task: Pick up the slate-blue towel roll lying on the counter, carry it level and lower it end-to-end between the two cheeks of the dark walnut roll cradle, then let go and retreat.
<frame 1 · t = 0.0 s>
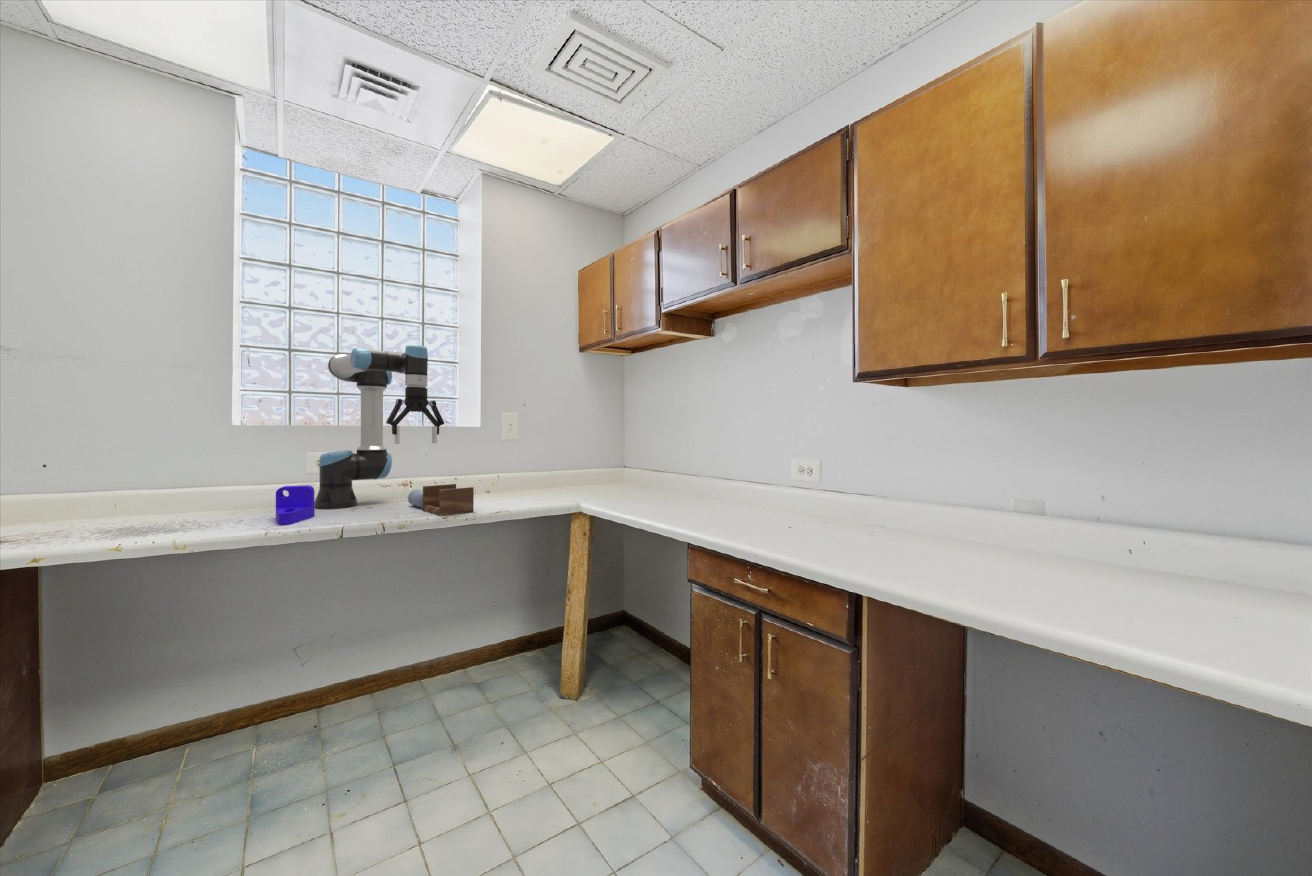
hand: (416, 443, 185), 28 cm above the counter, fingers open, 13 cm apart
cradle: (448, 511, 200), on the counter
bracket: (290, 521, 177), on the counter
towel roll: (421, 507, 210), on the counter
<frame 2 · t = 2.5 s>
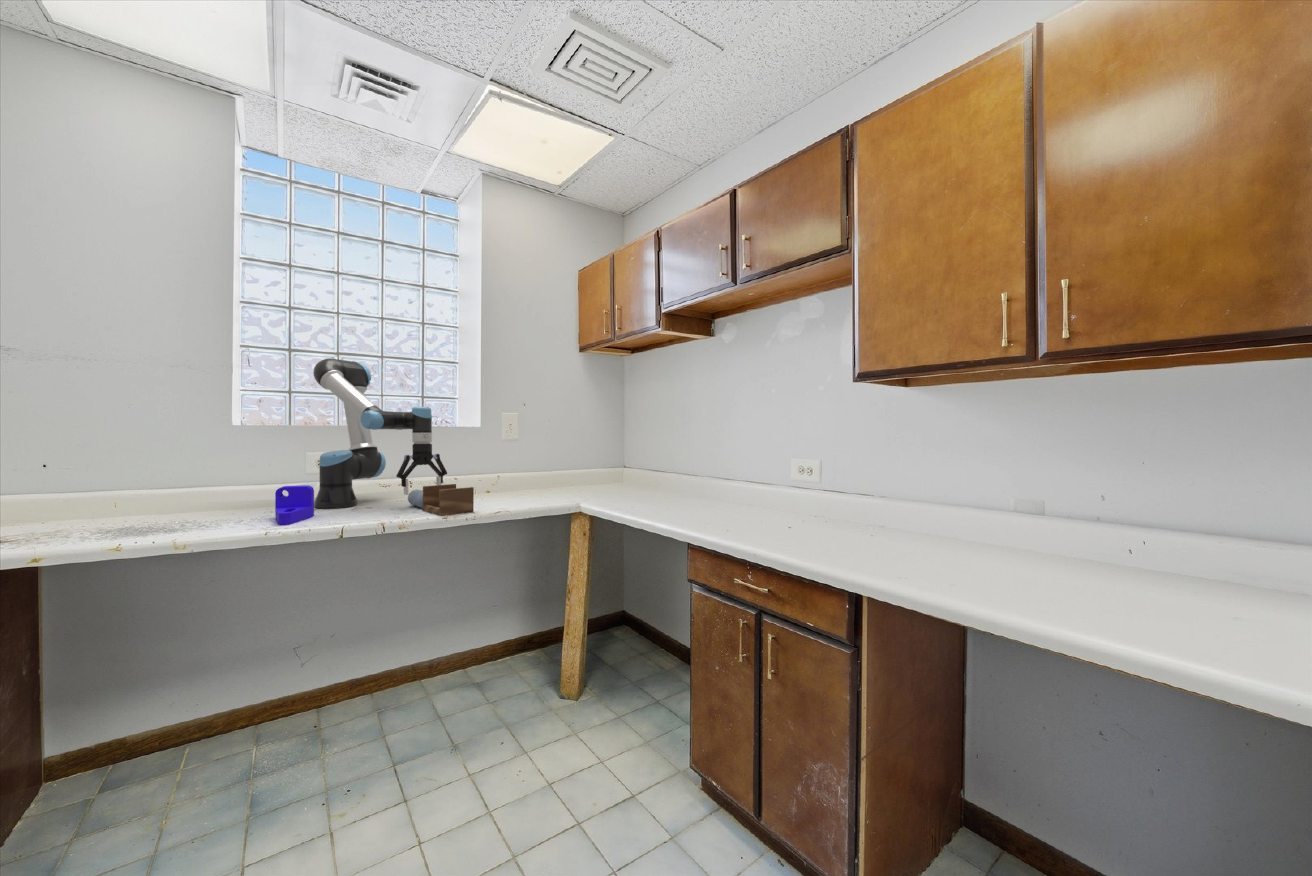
hand: (422, 493, 210), 6 cm above the counter, fingers open, 13 cm apart
nothing on the counter moved.
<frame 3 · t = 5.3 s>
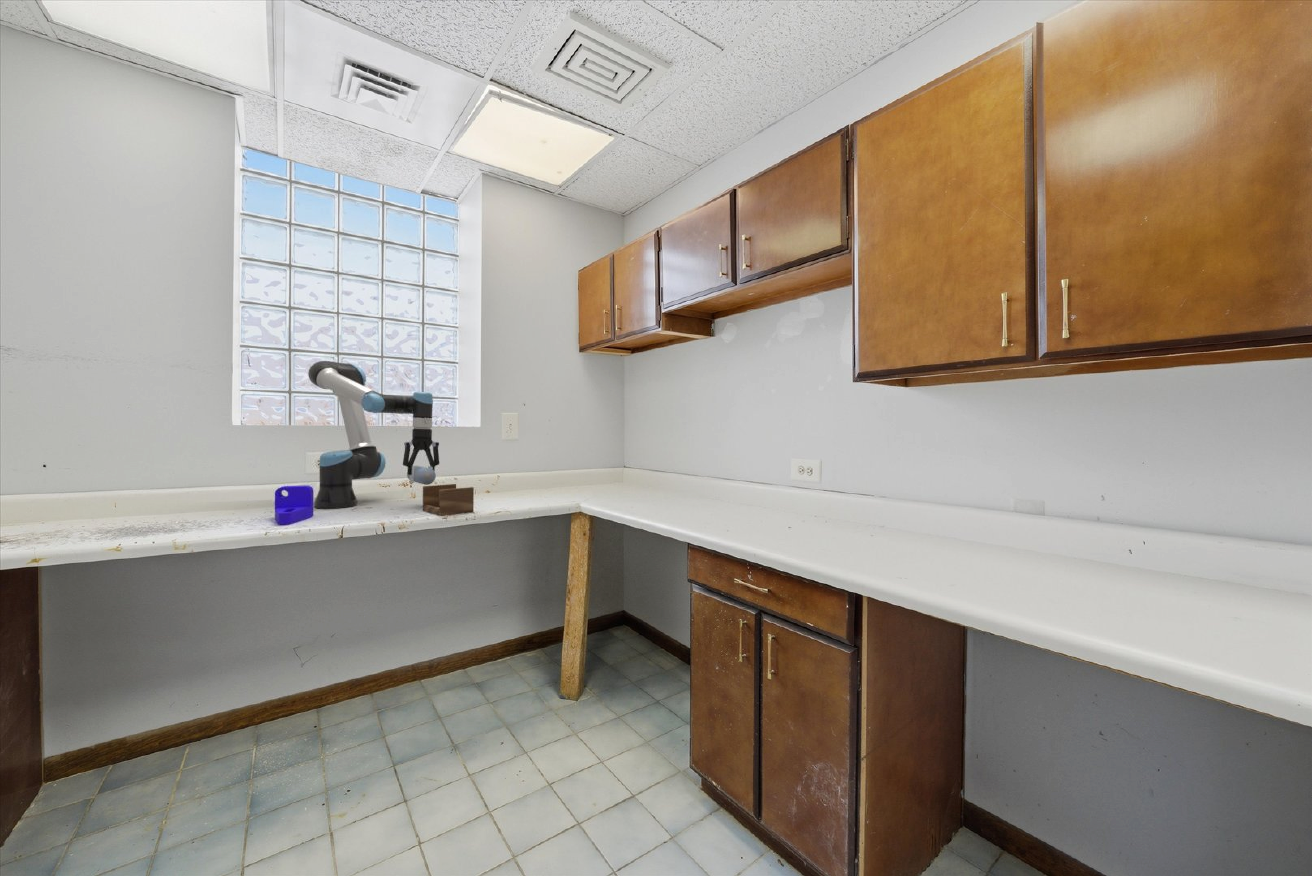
hand: (421, 482, 210), 11 cm above the counter, fingers closed on towel roll, 7 cm apart
towel roll: (420, 483, 210), point 10 cm above the counter, touching gripper
everything else where it was.
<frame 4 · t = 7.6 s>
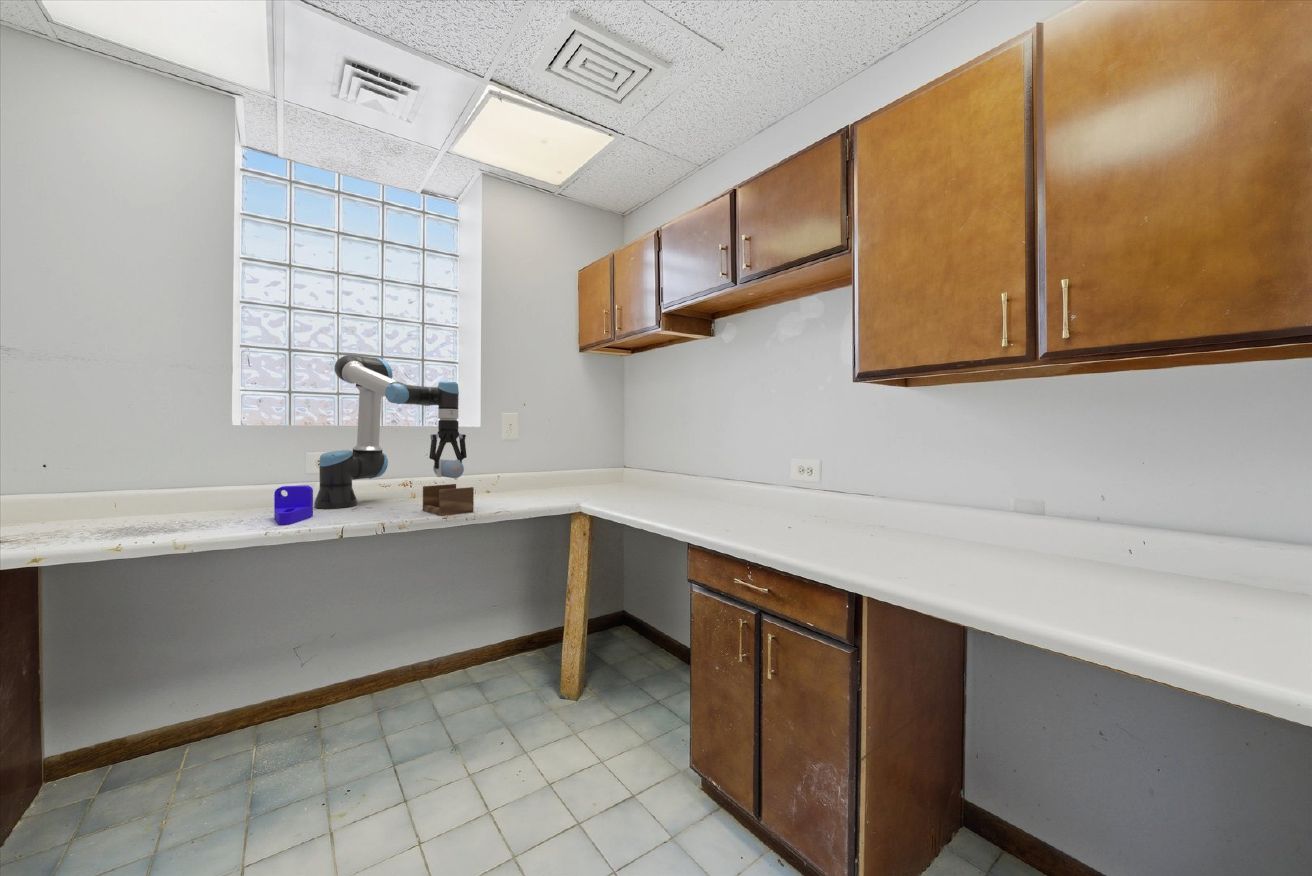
hand: (448, 476, 200), 14 cm above the counter, fingers closed on towel roll, 7 cm apart
towel roll: (448, 477, 200), point 14 cm above the counter, touching gripper
everything else where it was.
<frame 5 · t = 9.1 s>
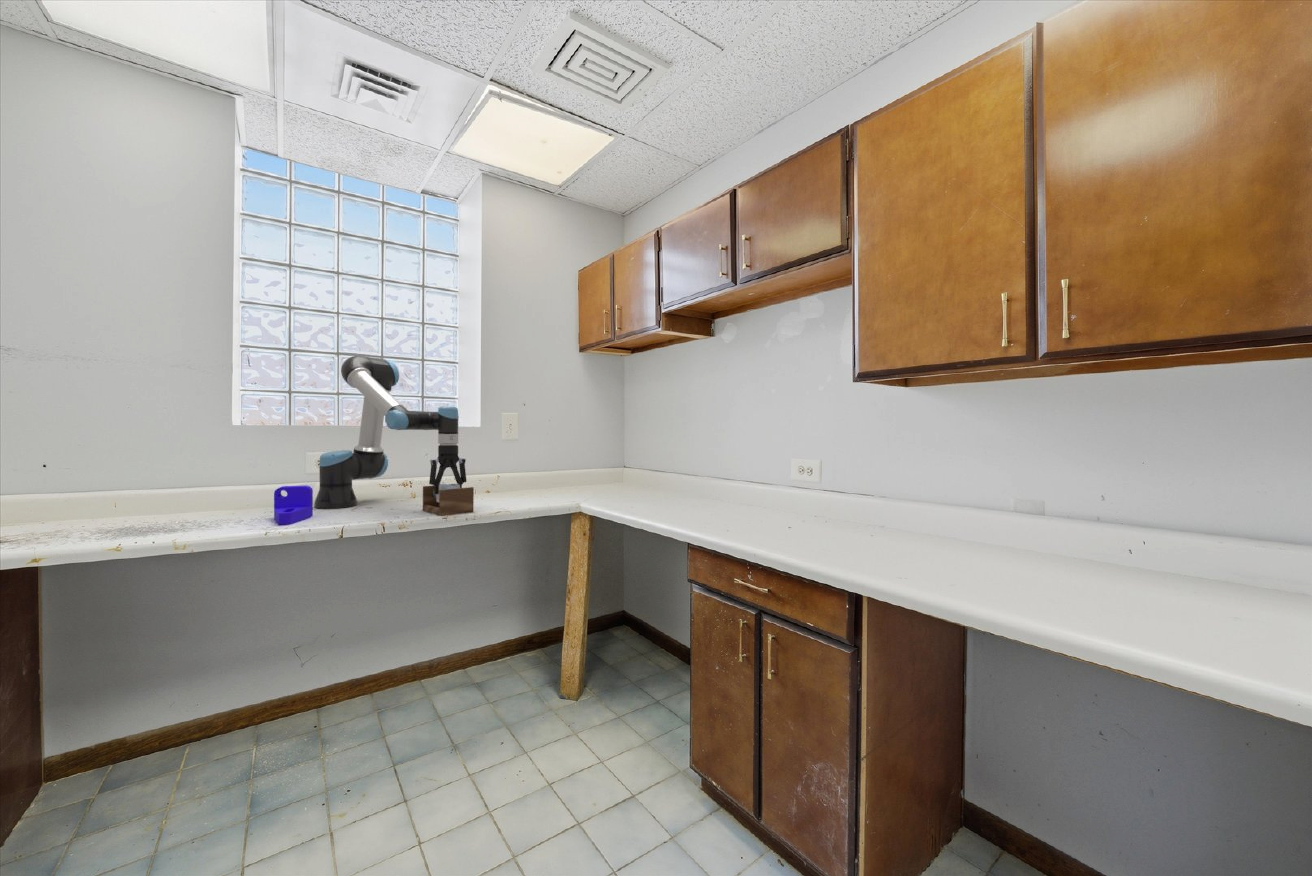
hand: (448, 501, 200), 4 cm above the counter, fingers closed on towel roll, 7 cm apart
towel roll: (448, 502, 200), point 4 cm above the counter, touching gripper
everything else where it was.
when the fingers open (3 cm above the counter, at t = 10.3 s): towel roll drops 1 cm, resting on cradle.
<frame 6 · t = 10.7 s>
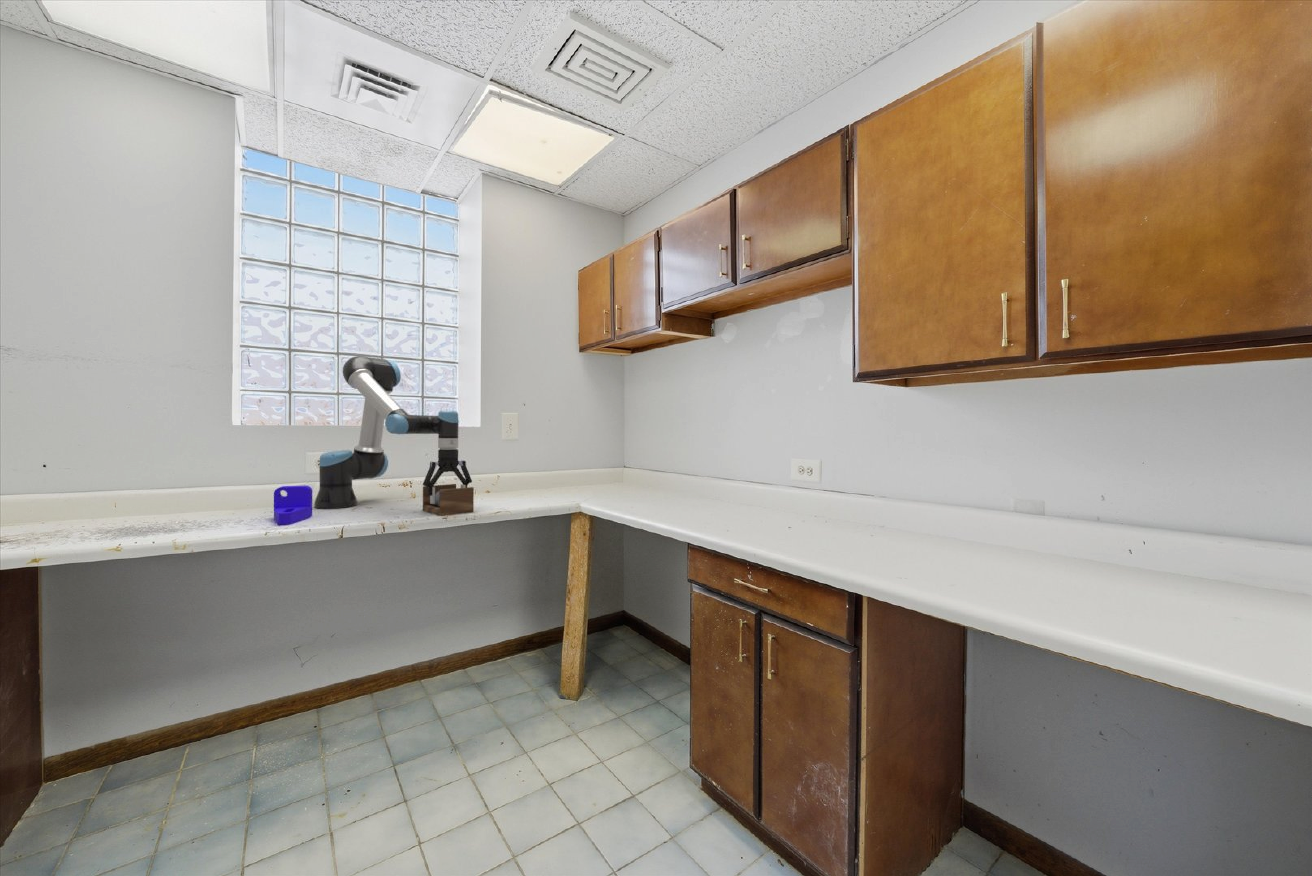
hand: (448, 502, 200), 4 cm above the counter, fingers open, 12 cm apart
towel roll: (447, 509, 200), point 1 cm above the counter, touching cradle
everything else where it was.
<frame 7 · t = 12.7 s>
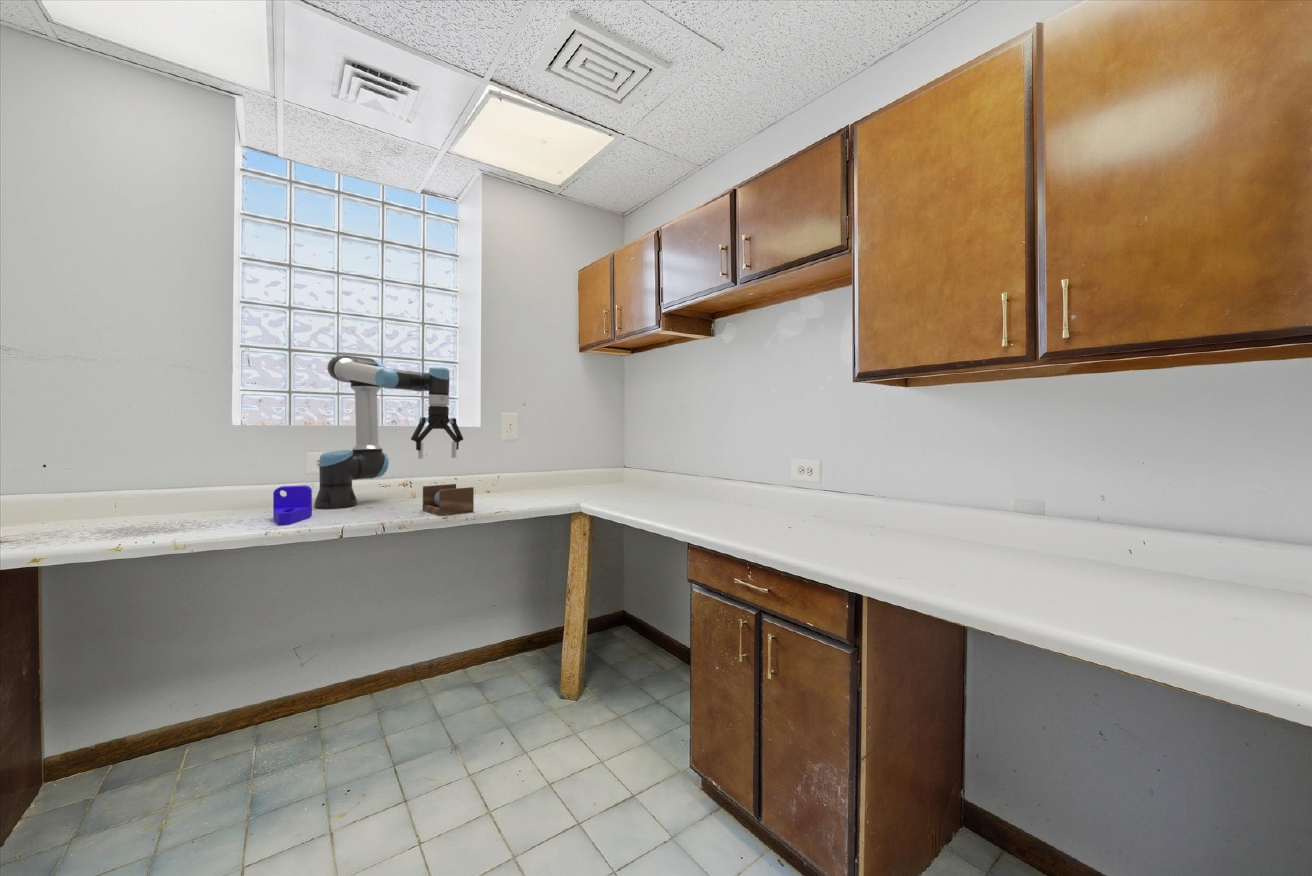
hand: (437, 458, 200), 22 cm above the counter, fingers open, 13 cm apart
nothing on the counter moved.
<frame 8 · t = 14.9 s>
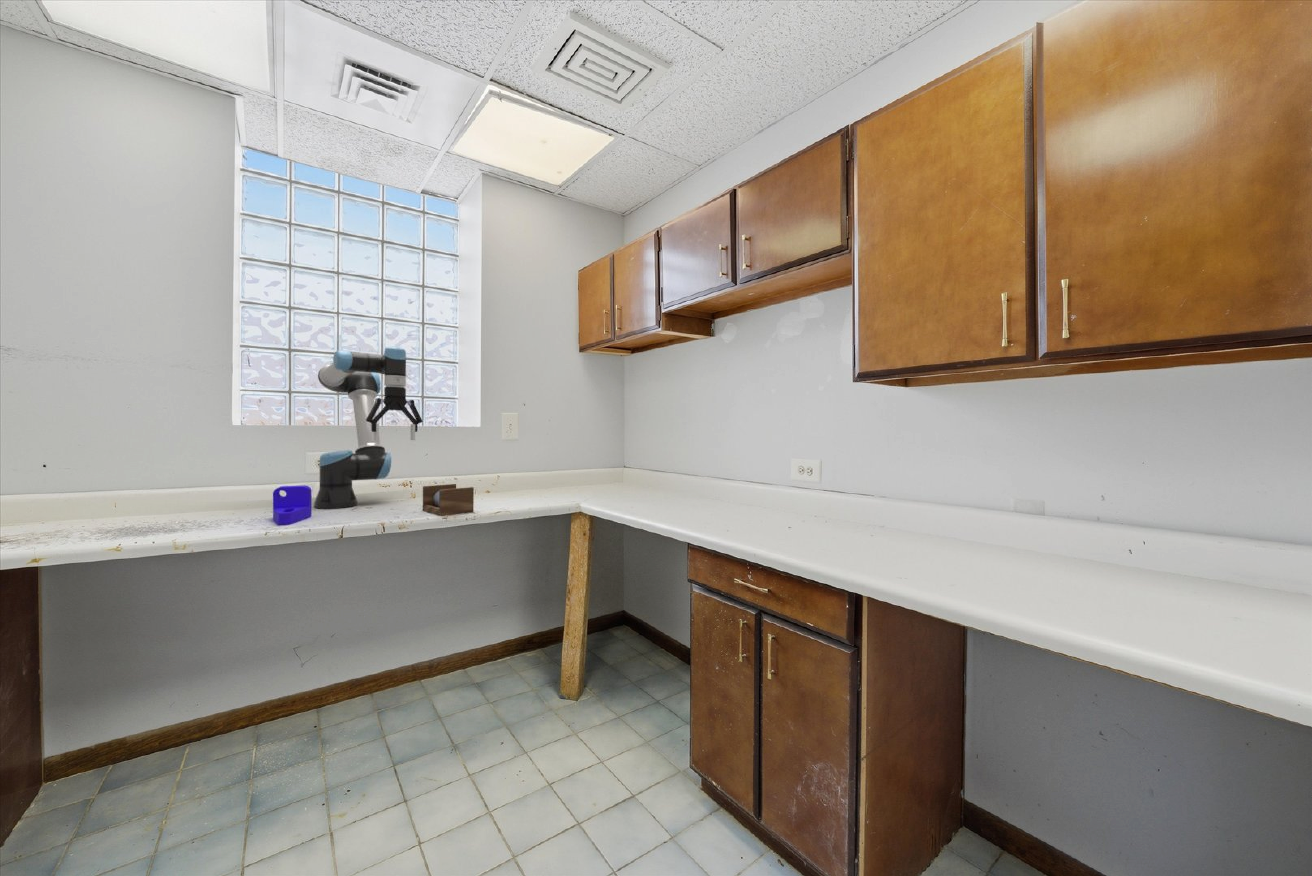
hand: (395, 440, 196), 29 cm above the counter, fingers open, 13 cm apart
nothing on the counter moved.
at the end: towel roll 0.1 cm off-centre on the cradle, point 1.0 cm above the cradle's base; the gripper is holding nothing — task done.
